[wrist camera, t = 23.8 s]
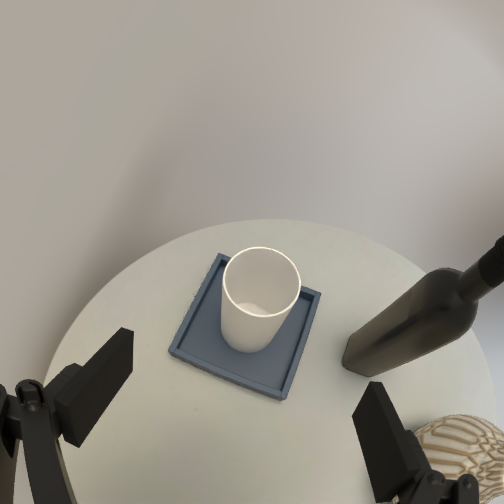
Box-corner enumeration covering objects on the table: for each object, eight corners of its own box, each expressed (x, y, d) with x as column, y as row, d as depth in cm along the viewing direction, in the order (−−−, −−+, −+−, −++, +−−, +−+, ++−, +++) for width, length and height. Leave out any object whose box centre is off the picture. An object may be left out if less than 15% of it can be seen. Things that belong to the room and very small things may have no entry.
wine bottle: (382, 345, 41) (537, 230, 15) (372, 379, 38) (548, 289, 12) (350, 331, 41) (494, 197, 16) (339, 366, 38) (505, 256, 13)
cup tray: (171, 355, 37) (167, 350, 35) (218, 262, 45) (218, 252, 43) (281, 400, 35) (285, 399, 33) (315, 300, 44) (321, 292, 41)
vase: (456, 416, 34) (551, 390, 17) (445, 502, 26) (537, 508, 9) (378, 421, 34) (480, 405, 17) (362, 520, 26) (452, 558, 9)
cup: (246, 364, 37) (262, 334, 25) (209, 324, 39) (206, 275, 27) (285, 328, 40) (316, 283, 28) (248, 292, 42) (262, 233, 30)
